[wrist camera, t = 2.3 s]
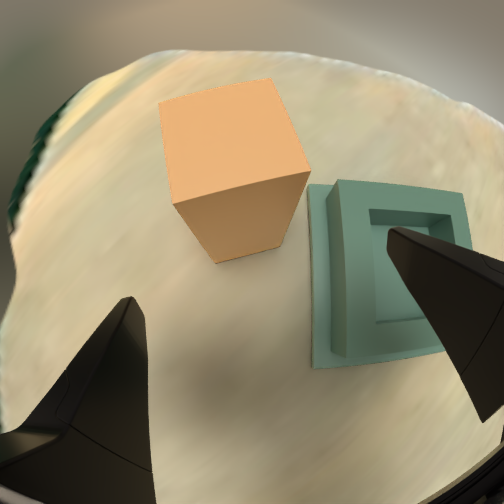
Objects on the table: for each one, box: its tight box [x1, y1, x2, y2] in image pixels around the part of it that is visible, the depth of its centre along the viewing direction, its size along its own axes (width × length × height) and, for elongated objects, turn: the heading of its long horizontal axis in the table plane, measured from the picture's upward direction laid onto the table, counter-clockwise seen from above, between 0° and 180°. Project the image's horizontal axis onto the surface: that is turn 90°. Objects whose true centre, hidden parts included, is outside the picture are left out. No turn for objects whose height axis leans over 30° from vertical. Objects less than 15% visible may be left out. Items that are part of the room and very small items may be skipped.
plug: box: [159, 78, 311, 263], centre depth 16 cm, size 5×5×12 cm
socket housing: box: [307, 179, 473, 369], centre depth 19 cm, size 14×14×4 cm
